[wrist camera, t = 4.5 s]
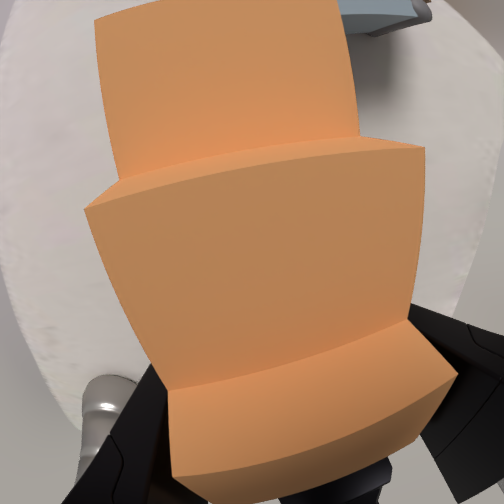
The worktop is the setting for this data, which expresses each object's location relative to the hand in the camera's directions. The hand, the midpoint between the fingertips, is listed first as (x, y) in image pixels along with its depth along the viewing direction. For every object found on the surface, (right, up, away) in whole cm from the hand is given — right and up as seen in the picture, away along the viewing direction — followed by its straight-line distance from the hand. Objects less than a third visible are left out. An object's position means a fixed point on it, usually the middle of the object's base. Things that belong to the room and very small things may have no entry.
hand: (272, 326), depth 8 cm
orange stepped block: (-1, +3, 0) cm, 4 cm away
